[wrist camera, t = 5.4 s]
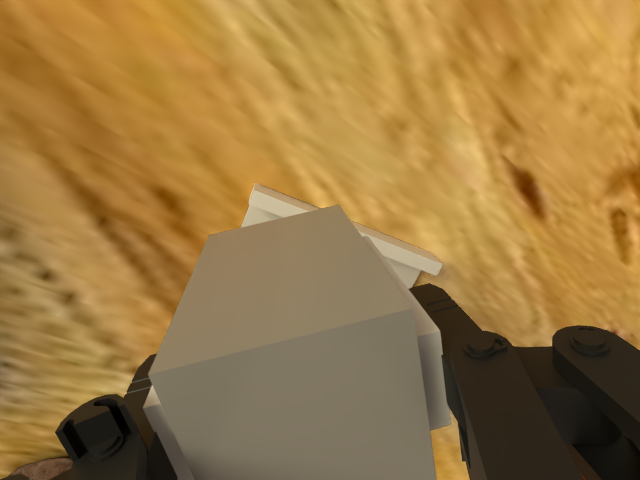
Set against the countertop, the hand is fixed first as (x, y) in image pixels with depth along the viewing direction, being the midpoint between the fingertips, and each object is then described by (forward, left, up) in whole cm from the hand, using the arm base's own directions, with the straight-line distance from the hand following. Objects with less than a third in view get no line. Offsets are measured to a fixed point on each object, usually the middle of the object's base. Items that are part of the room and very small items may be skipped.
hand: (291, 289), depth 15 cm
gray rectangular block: (0, 0, -1) cm, 1 cm away
